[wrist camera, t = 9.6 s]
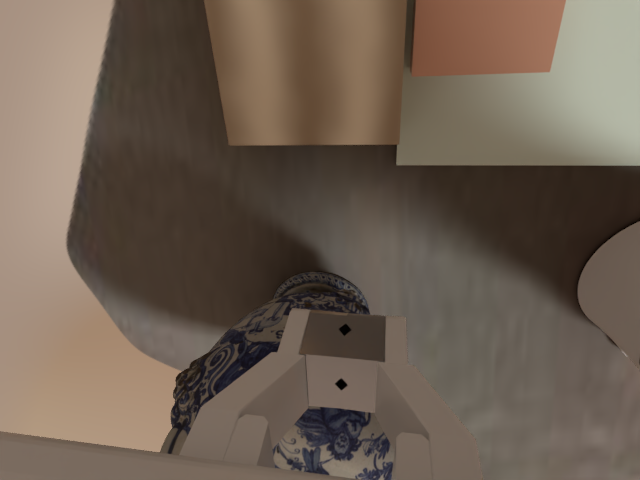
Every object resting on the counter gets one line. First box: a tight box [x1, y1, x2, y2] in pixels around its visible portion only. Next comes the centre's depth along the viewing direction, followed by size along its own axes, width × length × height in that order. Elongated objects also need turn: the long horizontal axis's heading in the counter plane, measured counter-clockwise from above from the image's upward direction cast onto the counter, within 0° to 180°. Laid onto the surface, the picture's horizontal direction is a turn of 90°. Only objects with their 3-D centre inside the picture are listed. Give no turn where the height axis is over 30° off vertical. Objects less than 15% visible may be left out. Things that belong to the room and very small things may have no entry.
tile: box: [410, 0, 566, 77], centre depth 27 cm, size 9×7×2 cm
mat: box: [396, 0, 640, 166], centre depth 28 cm, size 20×22×1 cm
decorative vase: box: [160, 272, 395, 480], centre depth 34 cm, size 21×19×28 cm
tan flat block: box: [204, 0, 407, 146], centre depth 29 cm, size 13×16×4 cm
